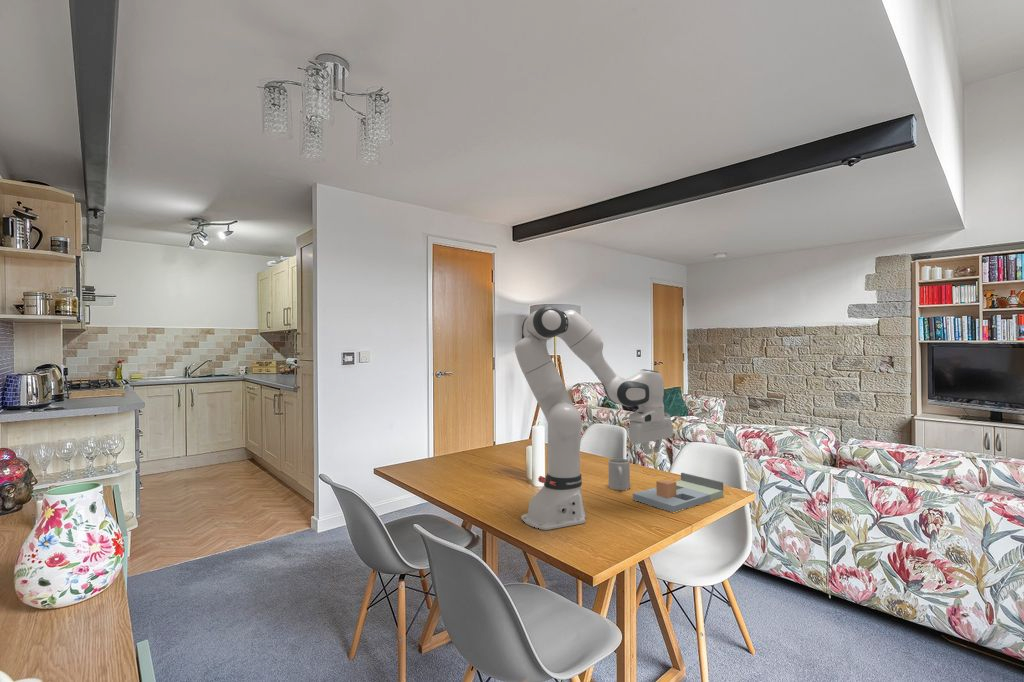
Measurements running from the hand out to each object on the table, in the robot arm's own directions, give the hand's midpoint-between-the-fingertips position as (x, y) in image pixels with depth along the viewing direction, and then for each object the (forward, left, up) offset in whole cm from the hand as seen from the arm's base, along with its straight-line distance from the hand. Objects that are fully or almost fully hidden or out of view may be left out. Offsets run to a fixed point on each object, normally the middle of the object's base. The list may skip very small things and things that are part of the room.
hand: (652, 453), depth 172 cm
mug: (+7, +22, -19) cm, 30 cm away
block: (+8, 0, -17) cm, 18 cm away
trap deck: (+15, 0, -19) cm, 24 cm away
